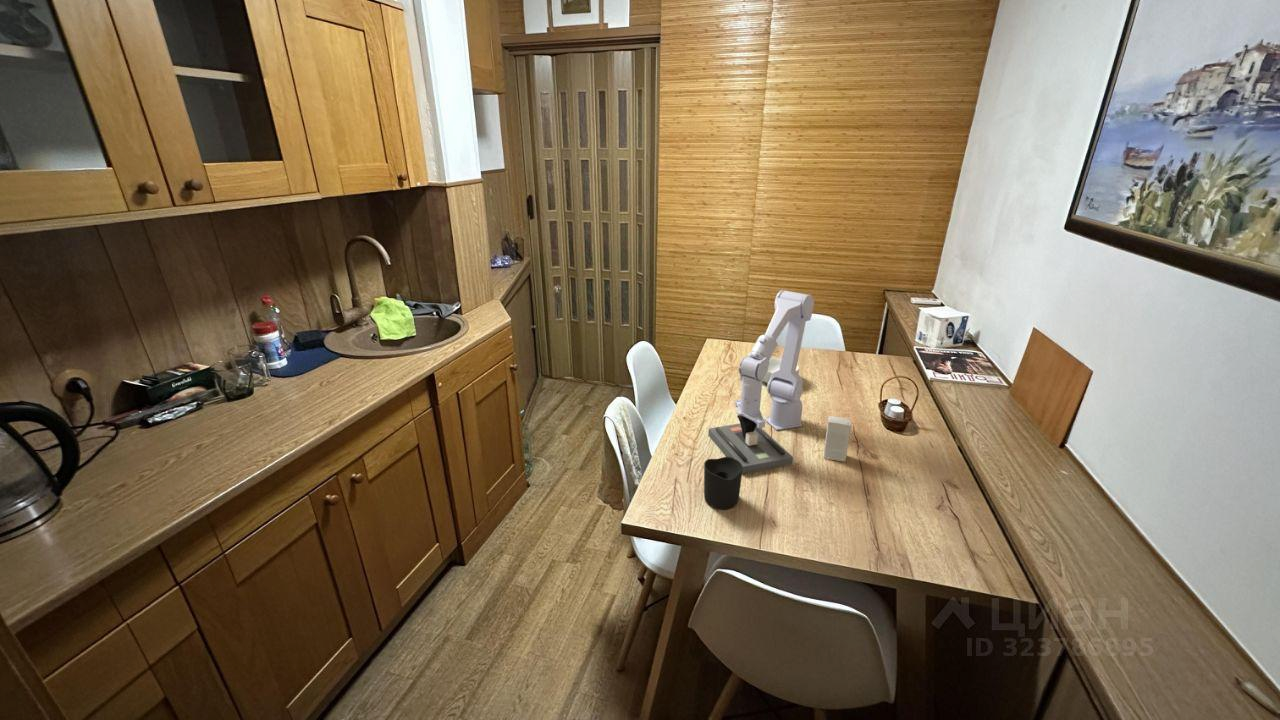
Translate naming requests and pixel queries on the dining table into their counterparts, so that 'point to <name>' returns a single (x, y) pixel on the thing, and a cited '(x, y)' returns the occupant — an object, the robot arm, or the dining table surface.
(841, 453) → the skincare box
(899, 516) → the dining table surface
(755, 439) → the breaker toggle
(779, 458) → the breaker panel
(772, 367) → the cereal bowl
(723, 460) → the pen holder
